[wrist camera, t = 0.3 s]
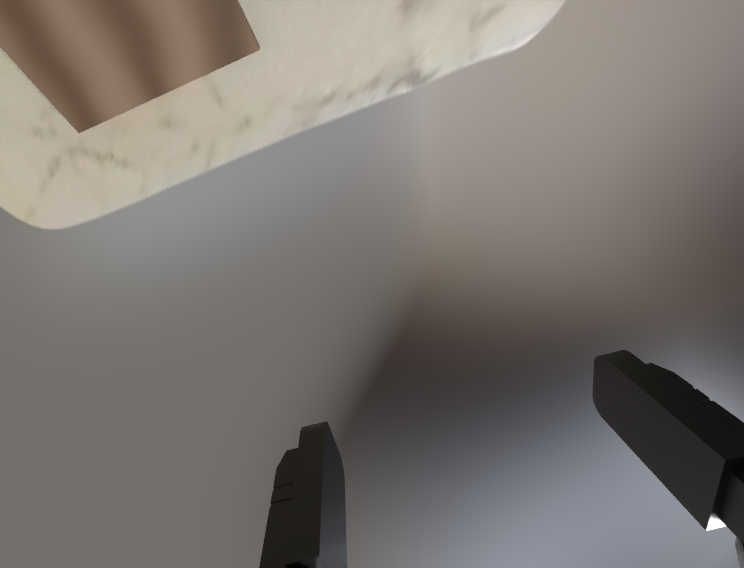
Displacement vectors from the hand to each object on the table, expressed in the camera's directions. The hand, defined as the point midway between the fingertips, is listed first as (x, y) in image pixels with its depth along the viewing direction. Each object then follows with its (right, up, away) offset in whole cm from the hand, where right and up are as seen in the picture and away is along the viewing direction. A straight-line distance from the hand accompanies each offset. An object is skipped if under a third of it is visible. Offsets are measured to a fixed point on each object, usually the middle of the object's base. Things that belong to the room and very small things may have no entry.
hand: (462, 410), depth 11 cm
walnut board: (-21, +24, +14) cm, 35 cm away
